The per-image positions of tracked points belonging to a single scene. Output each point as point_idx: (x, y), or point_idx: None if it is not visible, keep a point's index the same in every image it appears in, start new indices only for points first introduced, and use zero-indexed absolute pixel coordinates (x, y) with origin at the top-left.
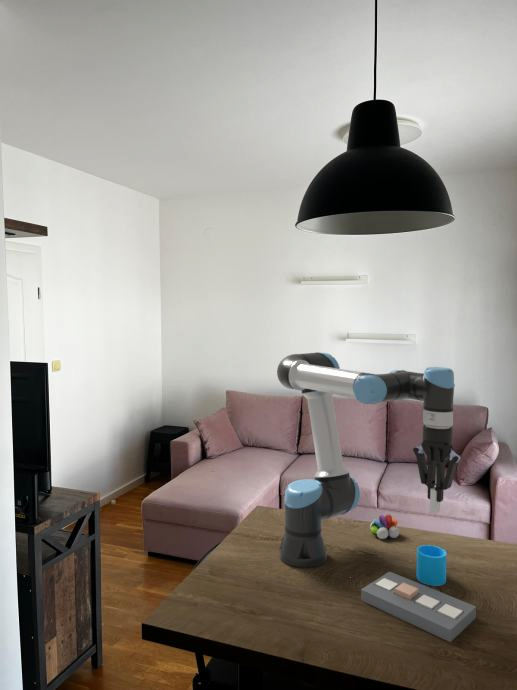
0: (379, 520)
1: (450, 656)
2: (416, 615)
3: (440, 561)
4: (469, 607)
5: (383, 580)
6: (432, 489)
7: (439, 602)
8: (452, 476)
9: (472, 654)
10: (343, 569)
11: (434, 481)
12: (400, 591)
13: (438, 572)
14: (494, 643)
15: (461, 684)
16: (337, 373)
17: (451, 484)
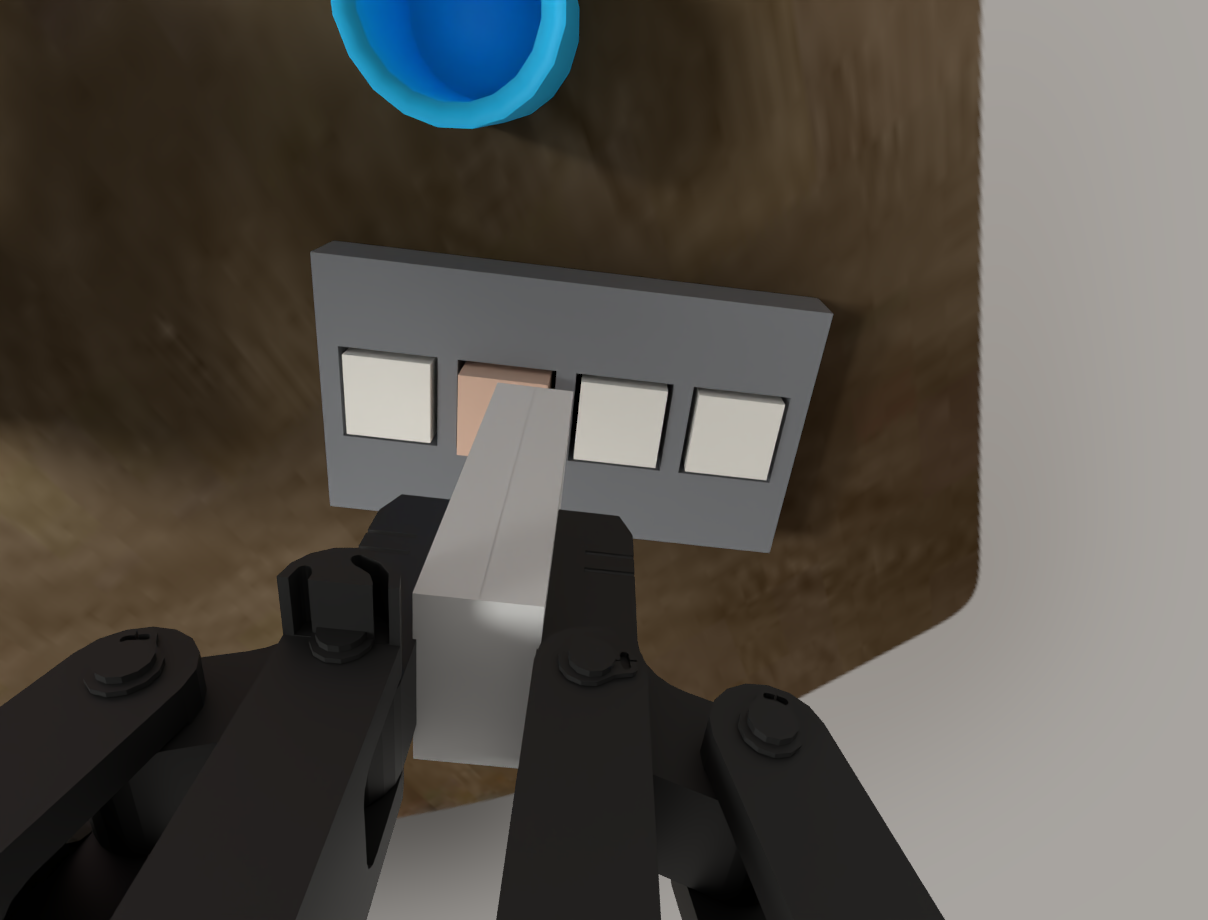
0: None
1: (780, 589)
2: None
3: (552, 71)
4: (805, 343)
5: (355, 380)
6: (456, 762)
7: (667, 392)
8: None
9: (846, 540)
10: (80, 279)
11: (367, 740)
12: None
13: (551, 88)
14: (914, 433)
15: (838, 677)
16: None
17: (855, 783)
